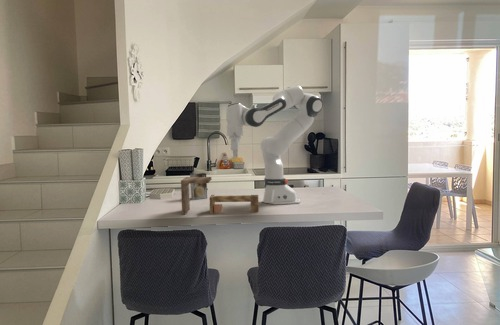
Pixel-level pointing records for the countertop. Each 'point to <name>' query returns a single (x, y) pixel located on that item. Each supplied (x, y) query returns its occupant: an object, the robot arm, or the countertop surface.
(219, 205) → the cube
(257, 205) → the wooden bridge block
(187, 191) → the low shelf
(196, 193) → the coffee box
